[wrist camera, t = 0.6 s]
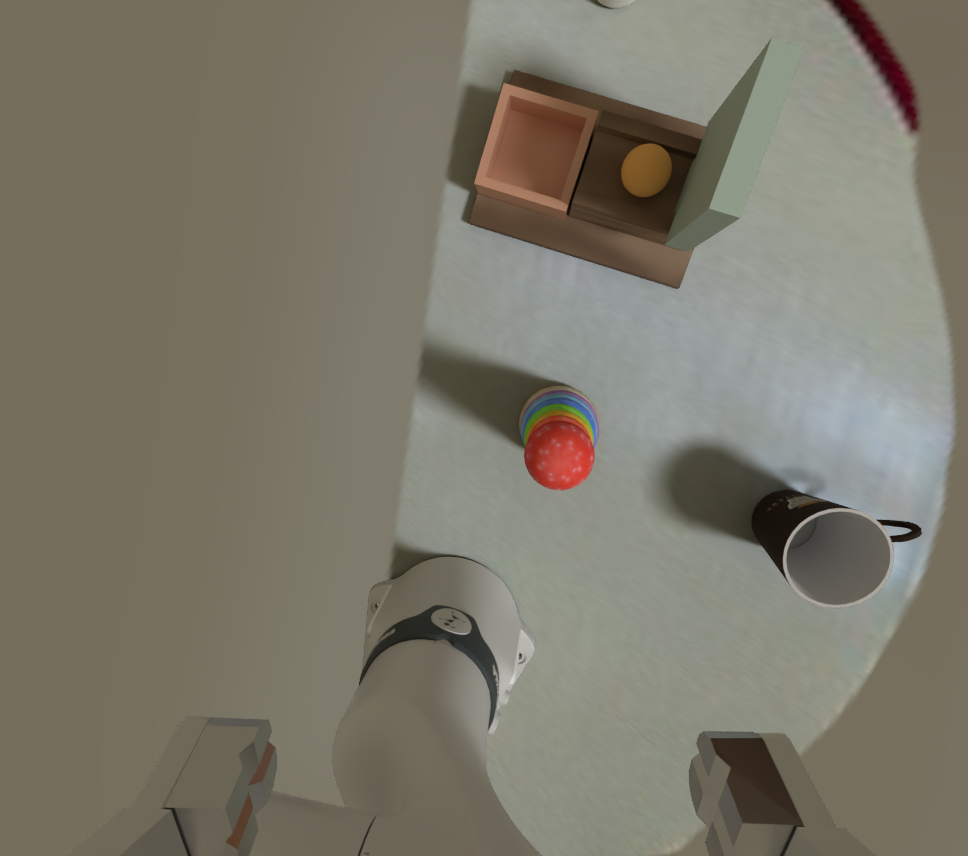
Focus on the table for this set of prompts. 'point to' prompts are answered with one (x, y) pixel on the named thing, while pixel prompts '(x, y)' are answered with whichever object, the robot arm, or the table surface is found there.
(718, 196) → the pale green panel
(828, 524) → the coffee mug
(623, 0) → the drinking glass
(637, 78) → the table surface
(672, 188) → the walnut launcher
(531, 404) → the stacking toy
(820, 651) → the table surface
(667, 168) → the orange rubber ball
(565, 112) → the terracotta cup
